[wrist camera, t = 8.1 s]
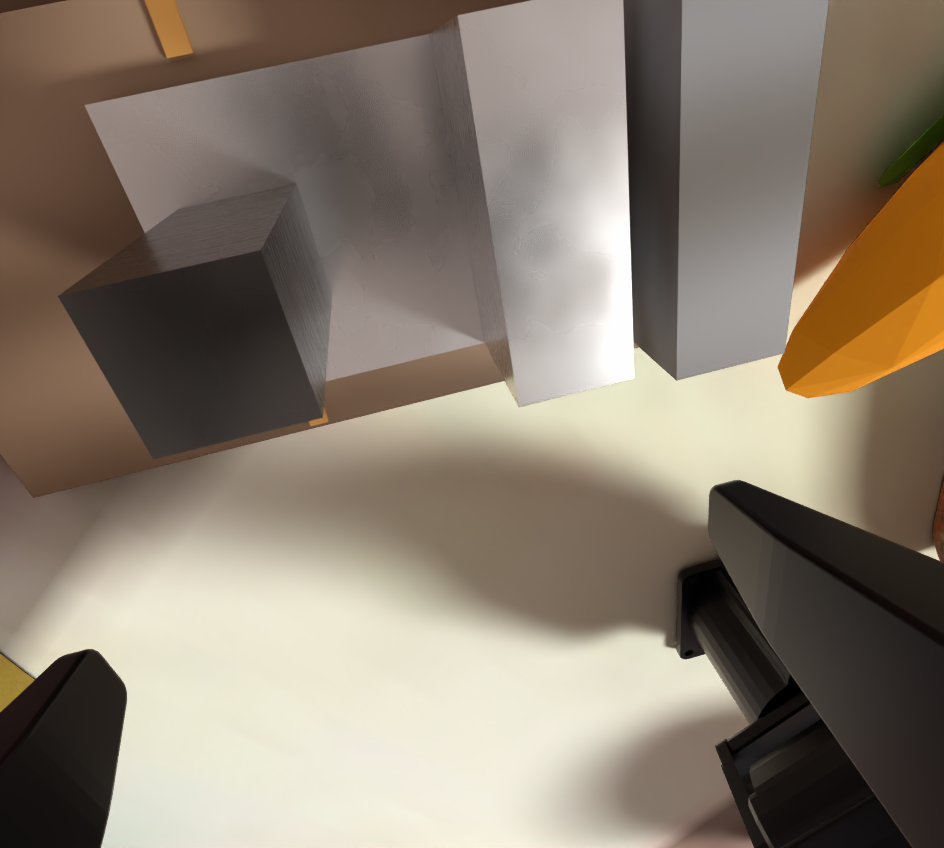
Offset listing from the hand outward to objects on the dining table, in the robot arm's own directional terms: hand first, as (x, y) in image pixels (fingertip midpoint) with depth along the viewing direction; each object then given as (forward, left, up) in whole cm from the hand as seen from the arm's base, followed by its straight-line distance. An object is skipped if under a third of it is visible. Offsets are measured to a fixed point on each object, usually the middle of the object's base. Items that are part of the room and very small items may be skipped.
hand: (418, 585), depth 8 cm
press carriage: (+3, 0, -11) cm, 11 cm away
